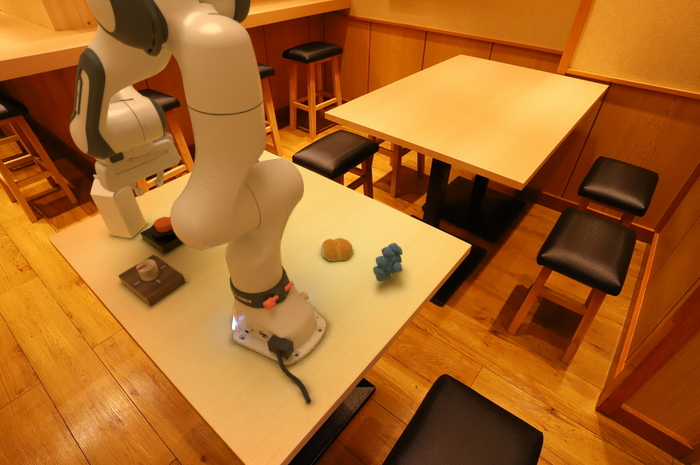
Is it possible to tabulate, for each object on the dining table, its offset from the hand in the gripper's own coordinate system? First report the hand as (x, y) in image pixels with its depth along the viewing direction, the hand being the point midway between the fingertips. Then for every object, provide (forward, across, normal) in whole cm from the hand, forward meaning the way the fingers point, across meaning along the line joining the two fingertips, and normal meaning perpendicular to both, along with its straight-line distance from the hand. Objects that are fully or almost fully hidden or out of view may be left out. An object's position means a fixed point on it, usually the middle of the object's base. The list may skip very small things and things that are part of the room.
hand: (150, 190), depth 101 cm
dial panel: (+17, +13, +13) cm, 25 cm away
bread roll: (+17, -25, +44) cm, 53 cm away
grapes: (+17, -25, +62) cm, 69 cm away
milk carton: (+17, +5, -13) cm, 22 cm away
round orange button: (+13, 0, 0) cm, 13 cm away
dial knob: (+14, +13, +13) cm, 23 cm away
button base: (+17, 0, 0) cm, 17 cm away
